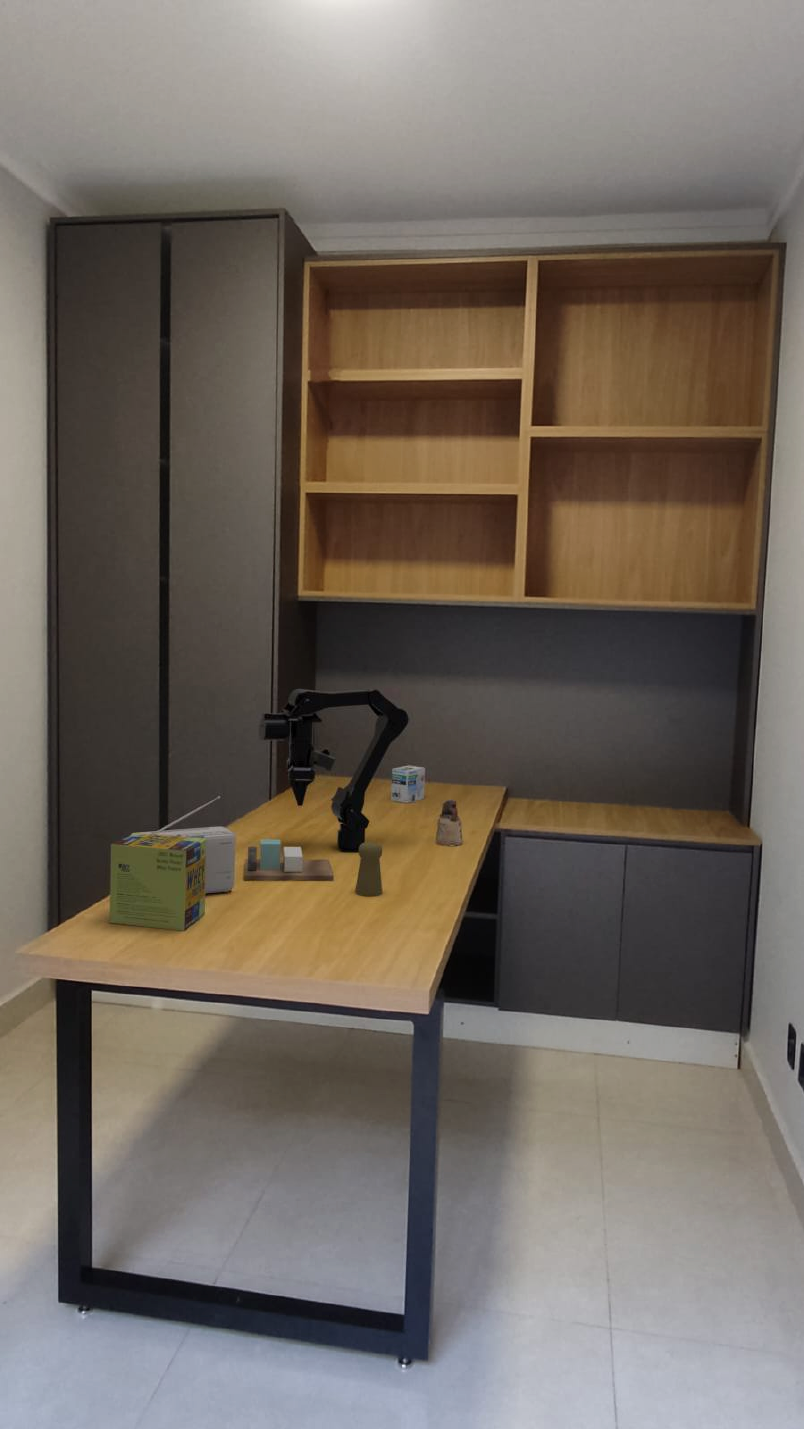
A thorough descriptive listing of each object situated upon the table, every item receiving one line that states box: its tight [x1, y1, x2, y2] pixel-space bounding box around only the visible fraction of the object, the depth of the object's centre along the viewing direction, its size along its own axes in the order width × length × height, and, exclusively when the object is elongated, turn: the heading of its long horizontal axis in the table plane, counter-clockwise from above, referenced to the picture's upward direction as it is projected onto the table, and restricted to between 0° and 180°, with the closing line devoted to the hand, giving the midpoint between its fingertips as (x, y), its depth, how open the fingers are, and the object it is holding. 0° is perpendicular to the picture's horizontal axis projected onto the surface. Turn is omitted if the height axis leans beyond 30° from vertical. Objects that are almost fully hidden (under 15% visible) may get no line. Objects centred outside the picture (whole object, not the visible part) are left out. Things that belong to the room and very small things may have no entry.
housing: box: [282, 846, 304, 872], centre depth 219 cm, size 4×9×4 cm, turn 9°
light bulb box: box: [390, 764, 426, 804], centre depth 312 cm, size 11×7×11 cm, turn 147°
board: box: [243, 846, 335, 882], centre depth 219 cm, size 20×14×5 cm
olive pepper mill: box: [354, 841, 383, 898], centre depth 206 cm, size 6×6×11 cm
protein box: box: [109, 832, 206, 932], centre depth 182 cm, size 10×15×16 cm
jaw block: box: [259, 838, 282, 870], centre depth 219 cm, size 4×4×6 cm
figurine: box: [435, 799, 463, 846], centre depth 254 cm, size 7×7×12 cm
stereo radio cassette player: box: [130, 795, 237, 895], centre depth 199 cm, size 21×8×20 cm, turn 120°
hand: (299, 801), depth 236 cm, fingers open, 9 cm apart
